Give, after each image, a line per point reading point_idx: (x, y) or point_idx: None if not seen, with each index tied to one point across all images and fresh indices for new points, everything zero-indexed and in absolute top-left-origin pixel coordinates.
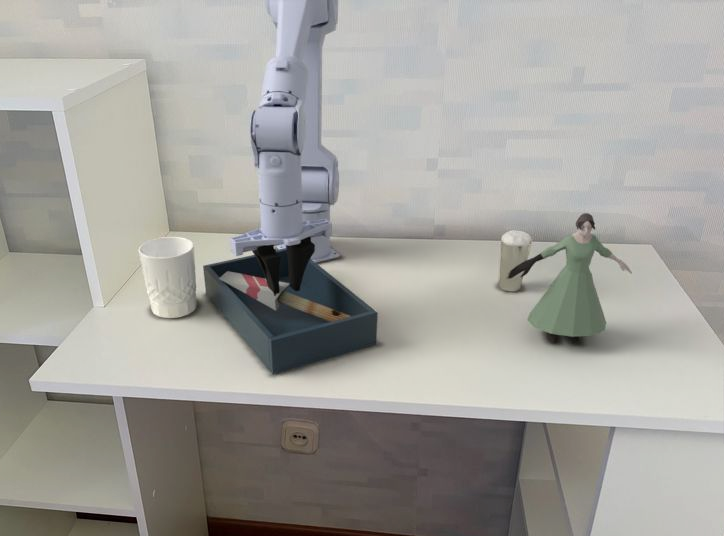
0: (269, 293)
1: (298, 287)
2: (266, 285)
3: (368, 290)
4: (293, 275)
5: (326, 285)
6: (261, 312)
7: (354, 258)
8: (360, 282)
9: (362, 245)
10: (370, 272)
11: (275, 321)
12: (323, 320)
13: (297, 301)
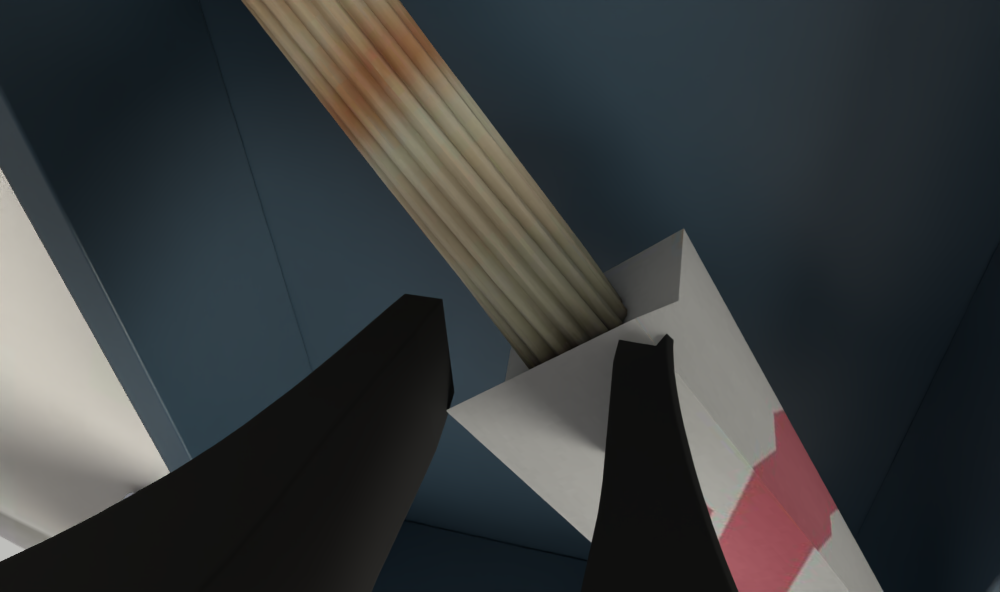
0: (702, 387)
1: (401, 312)
2: None
3: (11, 210)
4: (387, 447)
5: (178, 281)
6: None
7: (70, 455)
8: (52, 296)
9: (35, 498)
10: (2, 340)
11: (698, 178)
12: None
13: (479, 188)
